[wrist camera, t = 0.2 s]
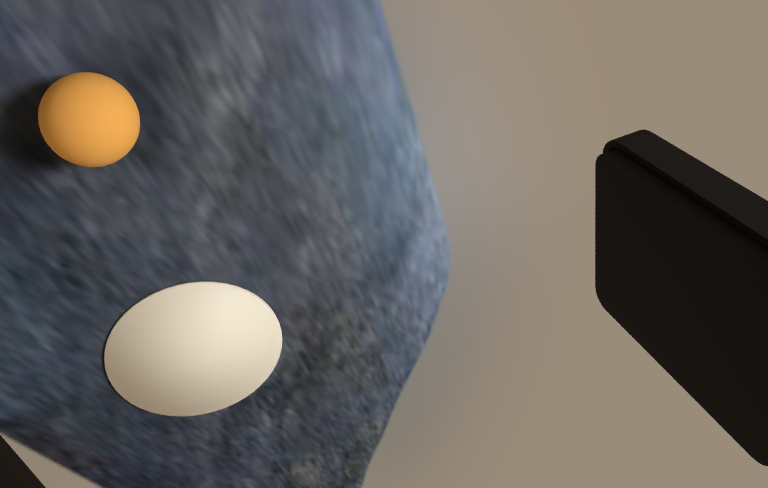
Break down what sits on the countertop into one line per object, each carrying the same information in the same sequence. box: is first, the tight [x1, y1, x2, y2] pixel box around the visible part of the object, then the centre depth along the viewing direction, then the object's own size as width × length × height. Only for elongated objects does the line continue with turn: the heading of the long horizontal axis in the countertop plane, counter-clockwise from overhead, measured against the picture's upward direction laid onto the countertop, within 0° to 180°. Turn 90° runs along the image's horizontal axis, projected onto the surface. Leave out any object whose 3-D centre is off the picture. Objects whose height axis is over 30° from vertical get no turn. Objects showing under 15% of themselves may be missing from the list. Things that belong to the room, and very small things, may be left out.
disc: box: [104, 281, 282, 416], centre depth 54 cm, size 14×14×1 cm
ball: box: [38, 72, 140, 167], centre depth 39 cm, size 6×6×6 cm
